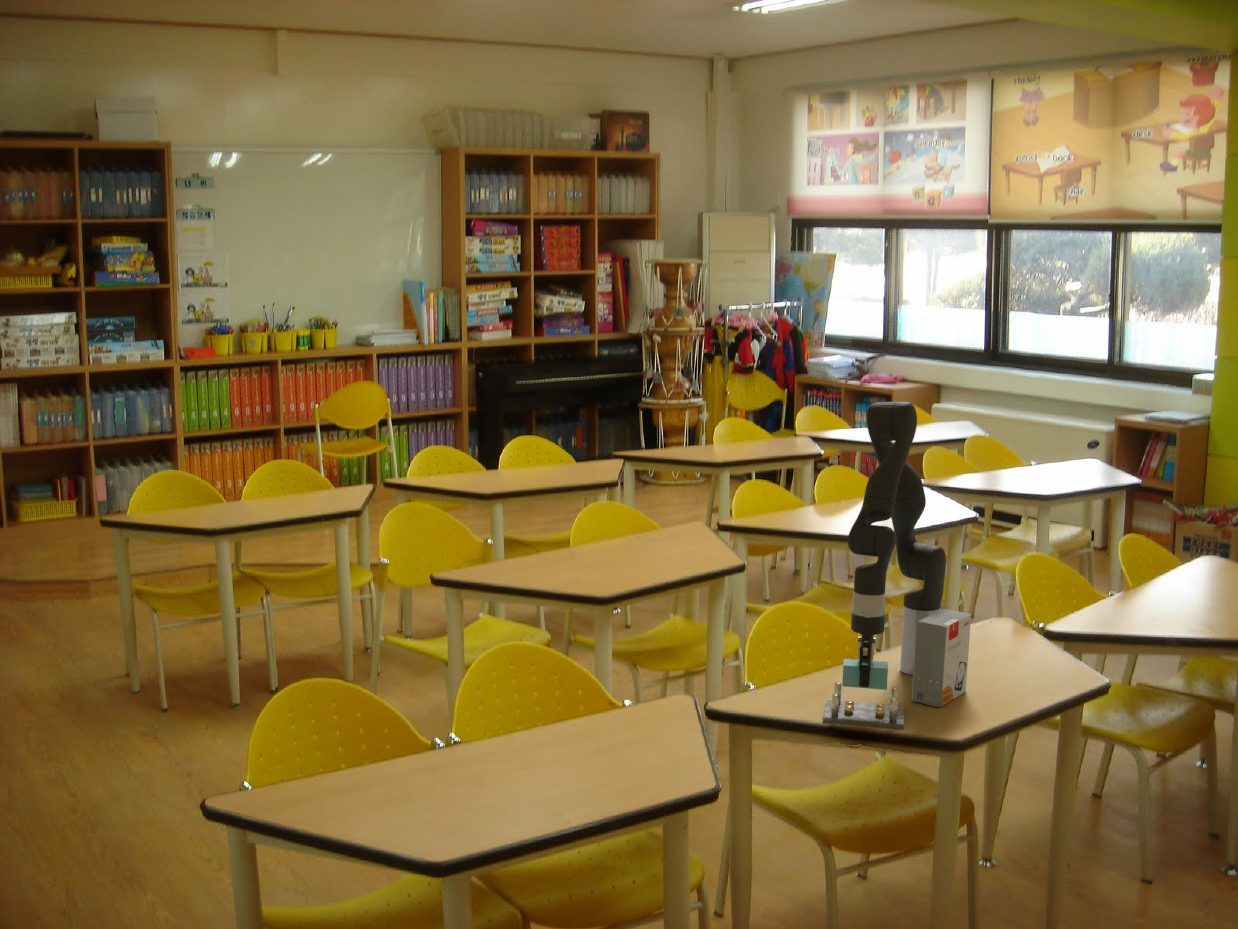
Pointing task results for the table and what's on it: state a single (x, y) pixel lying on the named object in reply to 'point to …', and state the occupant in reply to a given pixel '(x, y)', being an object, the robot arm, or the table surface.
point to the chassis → (864, 711)
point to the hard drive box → (941, 657)
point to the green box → (876, 674)
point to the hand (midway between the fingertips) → (864, 682)
